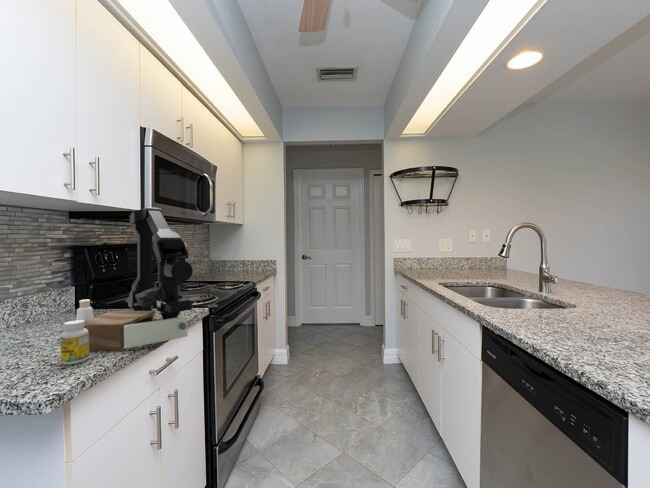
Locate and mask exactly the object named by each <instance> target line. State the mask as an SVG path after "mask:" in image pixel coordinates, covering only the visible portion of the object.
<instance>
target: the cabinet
mask: <svg viewBox="0 0 650 488" xmlns="http://www.w3.org/2000/svg"><path fill="white" fill-rule="evenodd" d="M155 315H156V311H155V310H153V311H134V310H112V311H108V312H105V313H102V314H99V315H96V316H94V317H92V318H89V319H86V320H84V321H85V326H84V328H86V329H87V330H88V332H89V352H92V351H95V352H98V351H101V352H102V351H105V352H107V351H114V352H115V351H124V350H125V349H124V326H125V325H131V324H137V323H144V322H150V321H154V319H155V317H154V316H155Z"/></svg>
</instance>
